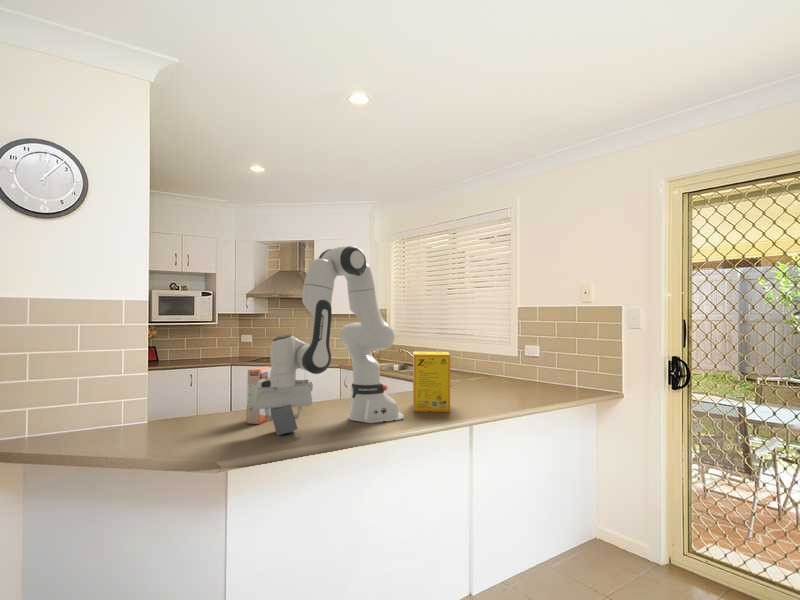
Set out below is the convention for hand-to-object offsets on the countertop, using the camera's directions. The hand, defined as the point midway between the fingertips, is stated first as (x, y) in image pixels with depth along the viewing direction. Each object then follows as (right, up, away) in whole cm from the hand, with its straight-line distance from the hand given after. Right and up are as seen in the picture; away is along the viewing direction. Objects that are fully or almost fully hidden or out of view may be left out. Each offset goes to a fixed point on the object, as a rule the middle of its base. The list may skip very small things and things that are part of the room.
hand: (283, 419), depth 167 cm
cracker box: (-13, -5, +19) cm, 24 cm away
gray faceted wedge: (+1, -4, 0) cm, 4 cm away
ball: (+2, -2, 0) cm, 3 cm away
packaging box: (+56, -7, +47) cm, 73 cm away
